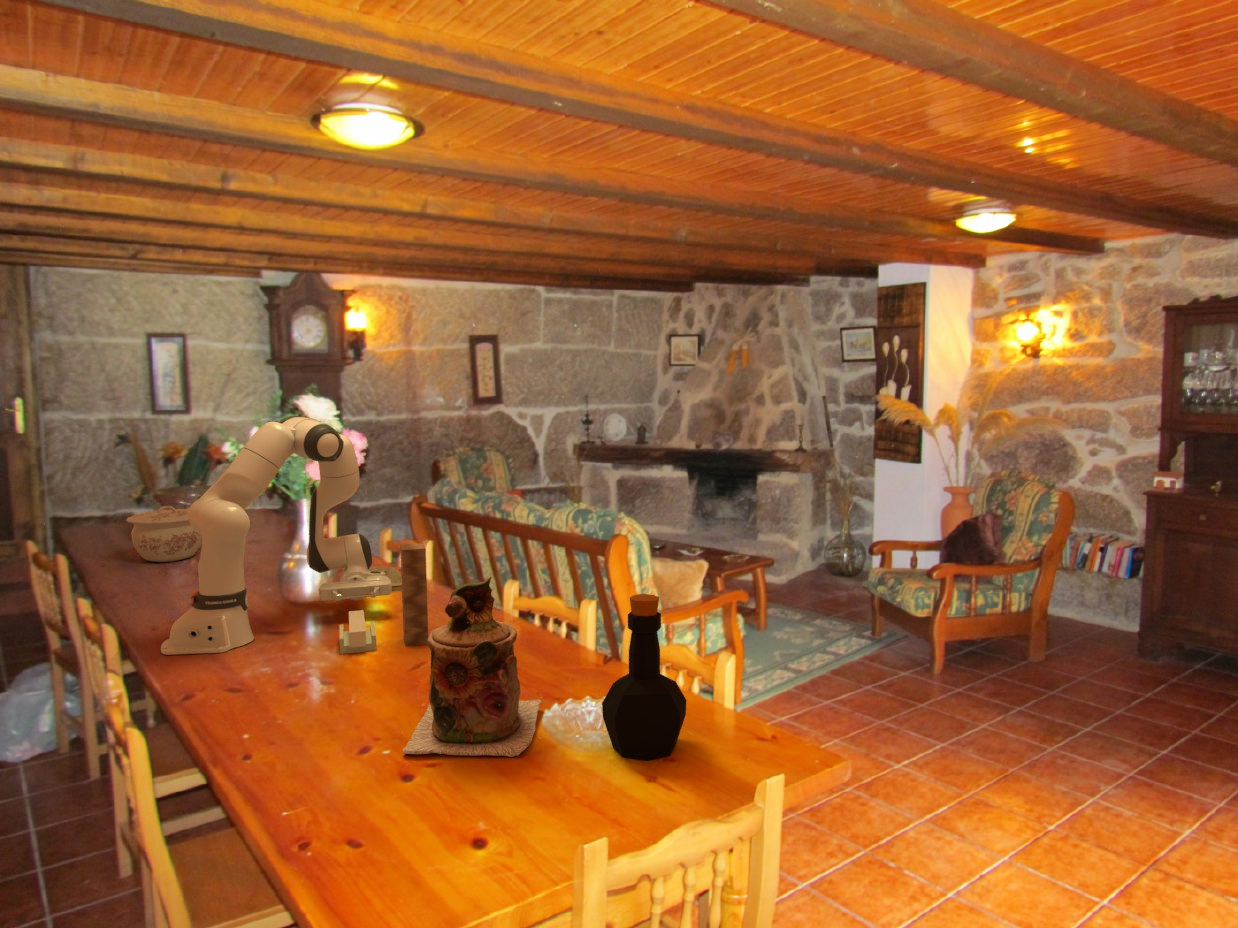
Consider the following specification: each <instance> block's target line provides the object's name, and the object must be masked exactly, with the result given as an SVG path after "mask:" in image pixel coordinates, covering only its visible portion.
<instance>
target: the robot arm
mask: <svg viewBox="0 0 1238 928" xmlns="http://www.w3.org/2000/svg"><path fill="white" fill-rule="evenodd" d="M294 454H296V455H297V456H298V457H301V458H302V459H303V458H304V459H307V460H312V461H315V462H318V470H319V478H320V479H319V484H318V486H317V488H315V489H314V490H313V491H312V492H311V496H310V506H309V507H310V508H309V525H308V526H309V527H308V531H309V533H308V536H309V538H308V544H307V549H306V561H307V564H308V567H309V568H310V569H311V570H313V571H315V572H316V573H319V574H320V573H326V572H330V571H331V570H333V571H334V570H339V569H342V570H341V573H340V576H339V578H340V579H339V580H340V581H334V582H325V583H322V584H320V587H318V597H319V598H318V599H319V601H322V602H324V601H334V600H335V601H337V602H338V601H340V602H341V601H342V600H346V599H347V600H351V601H360V600H363V599H364V598H369V597H370V598H371V599H373V598H374V599H375V598H377V597H380V596H381V597H383V596H390V595H392V593H393V591H392V585H391V581H390V579H389V578H388V577H387V576H385V573H384V572H374V571H369V570H368V569H369V568H370V567H371V566H372V564H373V556H372V555H373V554H372V549H371V545H370V542H369V539H368V538H367V537H365V535H363V534H361V533H353V534H347V535H342V536H341V535H340V536H335V537H329V538H325V537H324V536H323V535H324V517H325V515H326V513H328V511H329V510H331V509H333V508H334V507H335V506H337V505H339V504H341V503H344V502H346V501H347V500H349V499H350V498H351V497H352V496H353V495H355V494H356V493H357V491H358V489H359V487H360V480H361V479H360V469H359V464H358V458H357V454H356V451H355V448H354V445H353V442H352V440H351V439H350V438H349V436H346V435H344V434H340V433H339V432H338V431H337V430H336V429H335V428H333V427H332V426H331V425H328V424H325V423H323V422H321V421H318V420H316V419H314V418H310V417H304V416H302V415H290V416H287V417H285V418H283V419H281V420H280V421H279V422H277V421H269V422H265V423H264V424H263V425H262V426H261V427H259V428H258V429H257V431H255V433H254V434H252V436H251V437H250V438H249V439H248V440H247V442H246V443H245V444H244V445H243V447H242V448H241V450H240V451H239V452H238V453H237V455H236V457H235V458H234V459H233V460H232V462H231V463H230V465H229V466H228V467H227V469H226V470H225V471H224V472H223V474H221V476H220V477H219V478H218V479H217V480H216V481H215V482H214V483H213V484H212V485H210V487H209V488H208V489H207V490H206V491H205V492H204V493H203V494H202V495H201V496H200V498H198V499H197V500H195V501H193V502H192V503H191V505H190V507H189V511H188V520H189V523H190V525H191V527H192V528H193V530H194V531H195V532H197V533H198V534H200V535H201V536H202V545H201V548H200V549H201V550H200V556H199V561H198V563H197V572H198V585H199V587H198V588H199V590H195V591H193V593H192V594H191V599H190V601H191V607H190V608H189V609H188V610H186V612H185V613H183V614H182V615H181V616H180V617H179V618H177V619H176V620H175V621H174V623H173V624H172V625H171V628H170V632H169V638H167V639H166V640H164V641H163V642H162V644H161V645H160V653H161V654H162V655H165V656H166V655H169V656H171V655H189V654H190V655H191V654H192V655H193V654H215V653H225V652H227V651H230V650H232V649H235V648H239V647H241V646H245V645H246V644H250V643H251V642H253V640H254V639H255V636H254V634H253V631H252V627H251V624H250V620H249V616H248V610H247V609H248V607H249V603H248V601H249V600H248V597H249V596H248V592H247V588H246V585H245V570H244V569H245V567H244V565H245V564H244V561H245V560H244V559H245V558H244V557H245V550H246V549H245V548H246V544H247V536H248V535H247V534H248V533H249V531H250V528H251V521H250V520H251V519H250V516H249V515H248V514H247V511H246V509H247V507H249V505H251V504H252V503H253V502H254V501H255V500H256V499H257V498H259V497H260V496H262V495H263V494H264V493H265V491H266V490H267V488H268V487H269V486H270V484H271V483H272V481H273V480H274V478H275V477H276V475H277V474H278V473H279V471H280V470H281V468H282V467H283V466H284V463H285V462H286V460H287V459H288V458H290V456H292V455H294Z"/></svg>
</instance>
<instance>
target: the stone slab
mask: <svg viewBox="0 0 1238 928" xmlns="http://www.w3.org/2000/svg"><path fill="white" fill-rule="evenodd" d="M368 570H369V571H374V572H384V573H385V576H387V577H388V578H389V579H390V581H391V585H392V592H399V591H402V575H401V573H400V570H399V569H397V568H396V567H392V566H380V565H375V566H372V565H371V567H370V568H369V569H368Z"/></svg>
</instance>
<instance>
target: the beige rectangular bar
mask: <svg viewBox="0 0 1238 928" xmlns="http://www.w3.org/2000/svg"><path fill="white" fill-rule="evenodd" d="M364 611H365V609H362V610H361V609H360V610H350V611H348V622H349V623H348V627H349V628H348V629H349V630H348V631H349V634H350V648H352V647H362V646H366V629H367V628H366V621H365V612H364Z"/></svg>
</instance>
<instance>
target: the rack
mask: <svg viewBox="0 0 1238 928" xmlns="http://www.w3.org/2000/svg"><path fill="white" fill-rule="evenodd" d="M369 627H370V628H365V629H366V646H362V647H352V648H350V634H349V630H346V631H345V630H344V628H345V627H344V623H343V624H339V654H340V655H342V654H343V655H344V654H354V653H355V652H356V653H365V652H373V651H374V652H375V651H377V637H376V635H377V634H376V628H375V627H376V626H375V621H369Z"/></svg>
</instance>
